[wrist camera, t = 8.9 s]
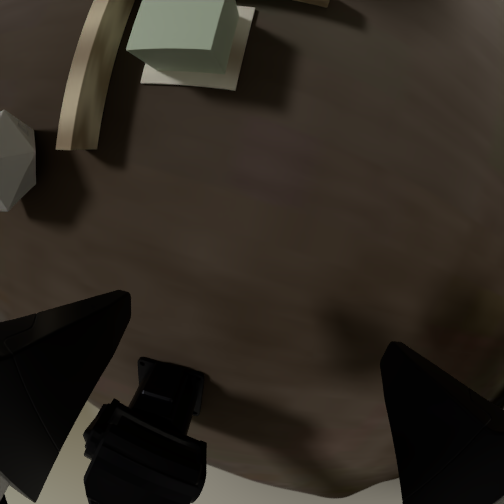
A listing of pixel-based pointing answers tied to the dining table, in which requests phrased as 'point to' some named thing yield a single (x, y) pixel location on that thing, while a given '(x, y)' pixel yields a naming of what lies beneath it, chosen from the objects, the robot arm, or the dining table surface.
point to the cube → (184, 34)
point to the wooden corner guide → (101, 64)
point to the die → (15, 160)
